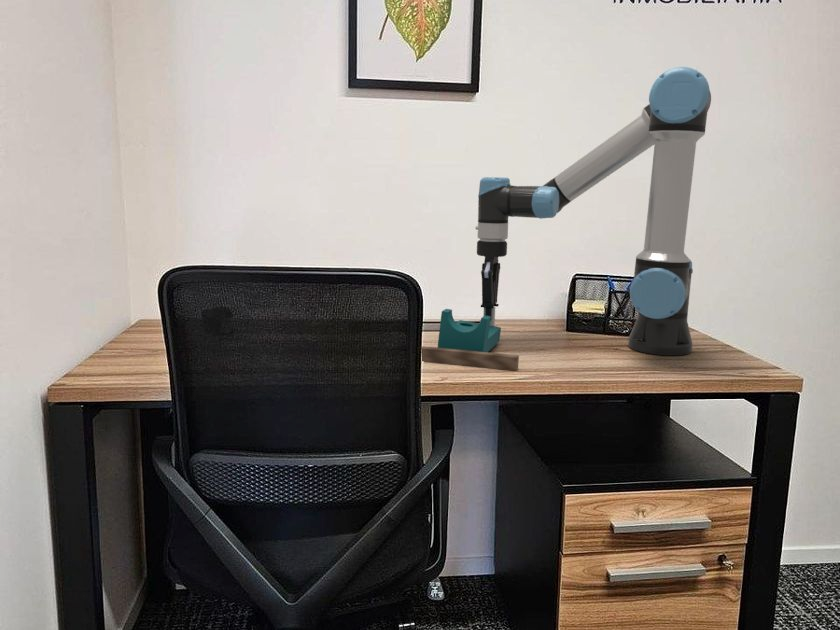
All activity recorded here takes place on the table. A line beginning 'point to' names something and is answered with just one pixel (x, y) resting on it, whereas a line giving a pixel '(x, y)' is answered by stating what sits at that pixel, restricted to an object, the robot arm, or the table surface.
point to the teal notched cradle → (467, 334)
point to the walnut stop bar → (470, 358)
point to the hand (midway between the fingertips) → (488, 332)
